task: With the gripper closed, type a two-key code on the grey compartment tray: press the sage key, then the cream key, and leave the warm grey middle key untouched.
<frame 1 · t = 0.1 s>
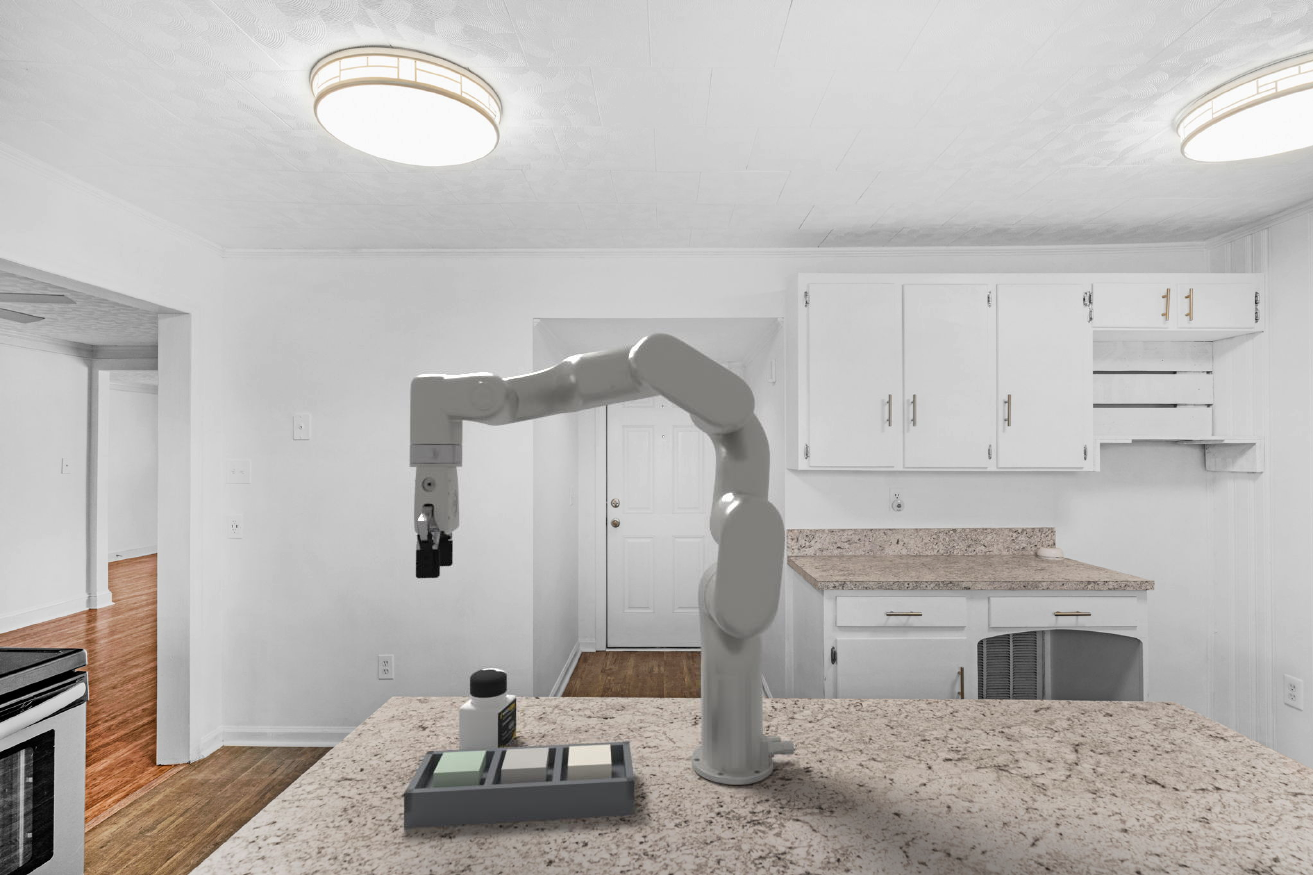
hand: (435, 571, 96), 31 cm above the countertop, tool pointing down, fingers open, 9 cm apart
grey compartment tray: (525, 797, 91), on the countertop
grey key: (525, 765, 91), point 5 cm above the countertop, slide at 0.0 cm
cream key: (589, 761, 92), point 5 cm above the countertop, slide at 0.0 cm
medicine bottle: (488, 745, 108), on the countertop
sage key: (460, 768, 90), point 4 cm above the countertop, slide at 0.0 cm
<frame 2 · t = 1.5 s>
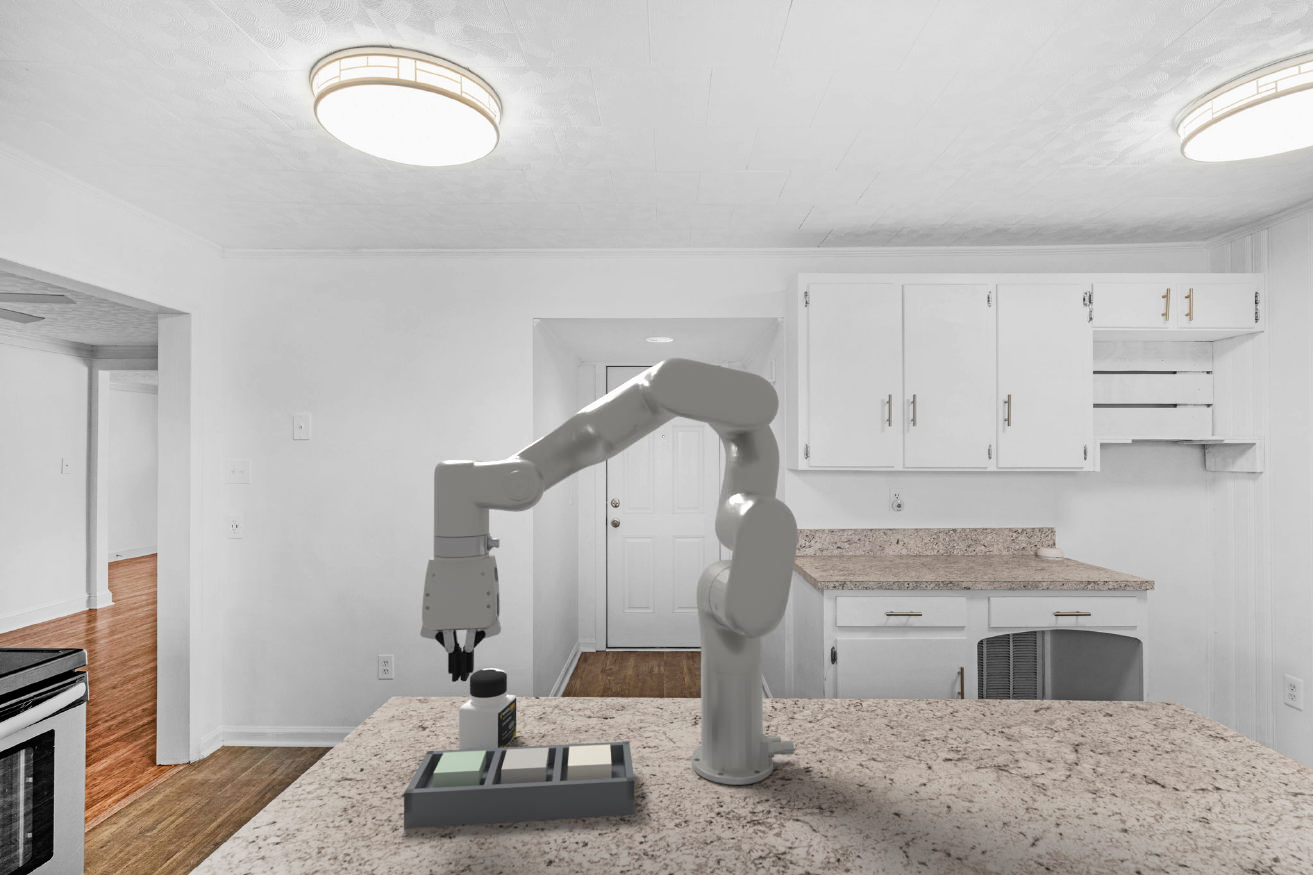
hand: (461, 677, 91), 17 cm above the countertop, tool pointing down, fingers closed
nothing on the countertop moved.
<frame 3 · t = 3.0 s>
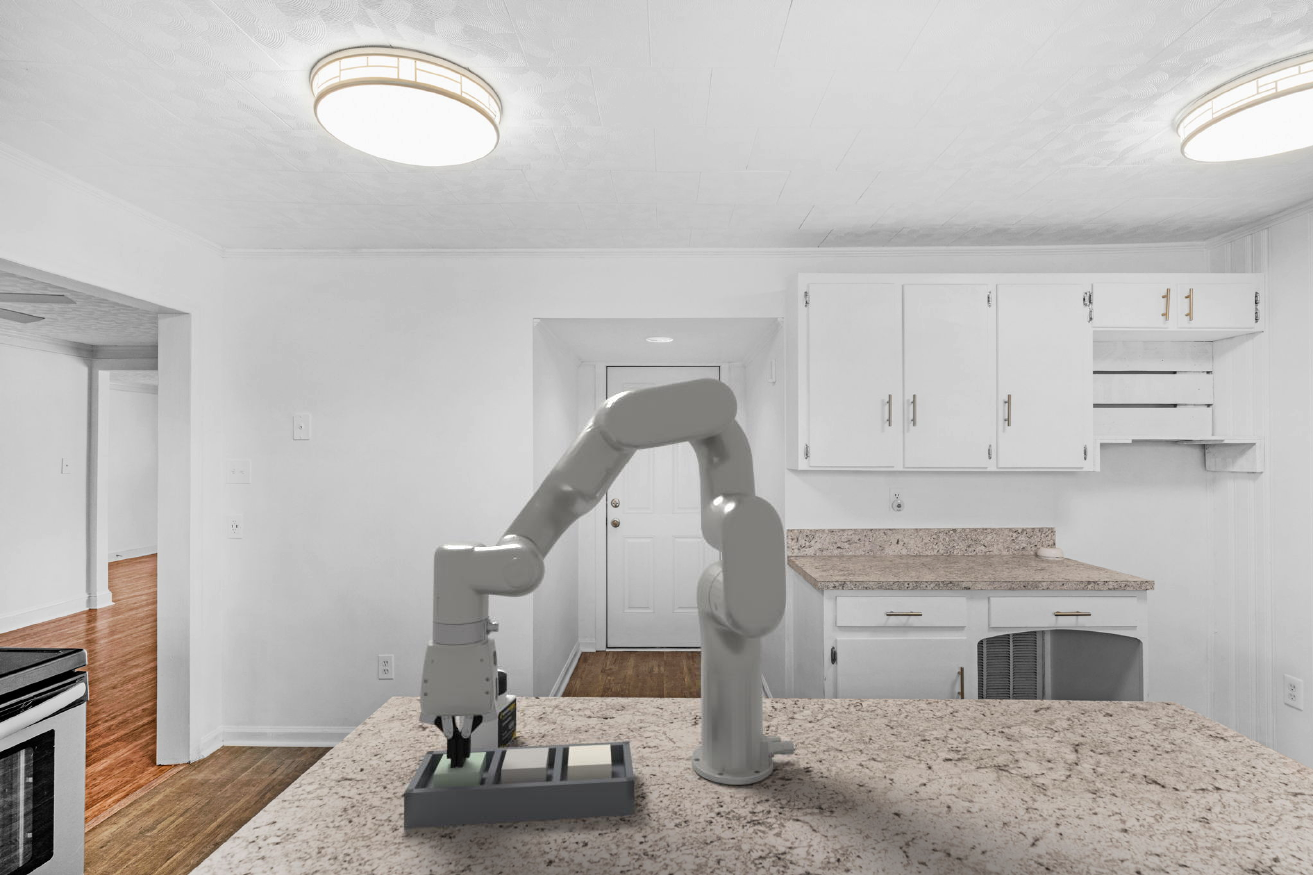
hand: (458, 762, 90), 5 cm above the countertop, tool pointing down, fingers closed
sage key: (460, 770, 90), point 4 cm above the countertop, slide at 0.2 cm, touching gripper
everything else where it was.
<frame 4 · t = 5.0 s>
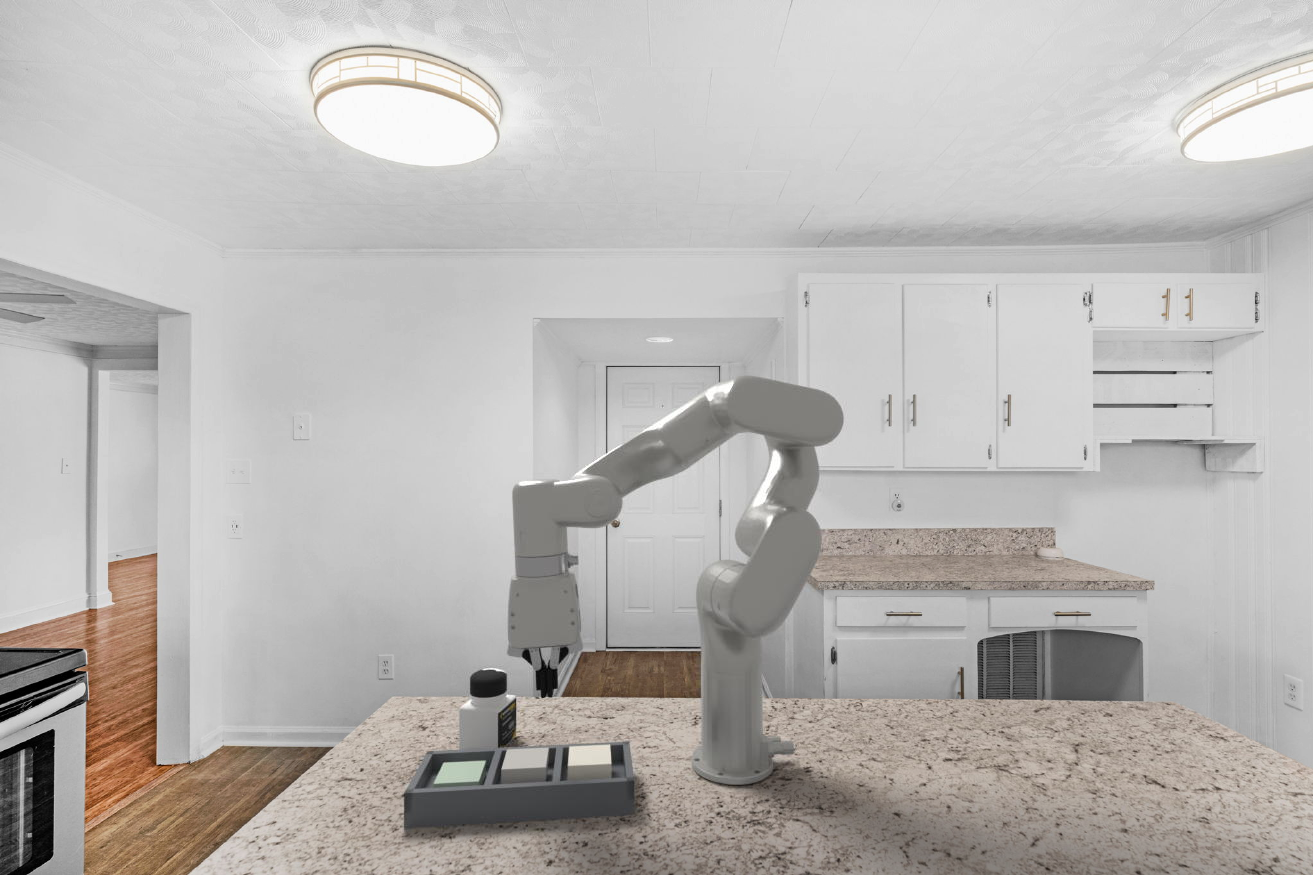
hand: (547, 694, 92), 14 cm above the countertop, tool pointing down, fingers closed
sage key: (460, 778, 90), point 3 cm above the countertop, slide at 1.4 cm
everything else where it was.
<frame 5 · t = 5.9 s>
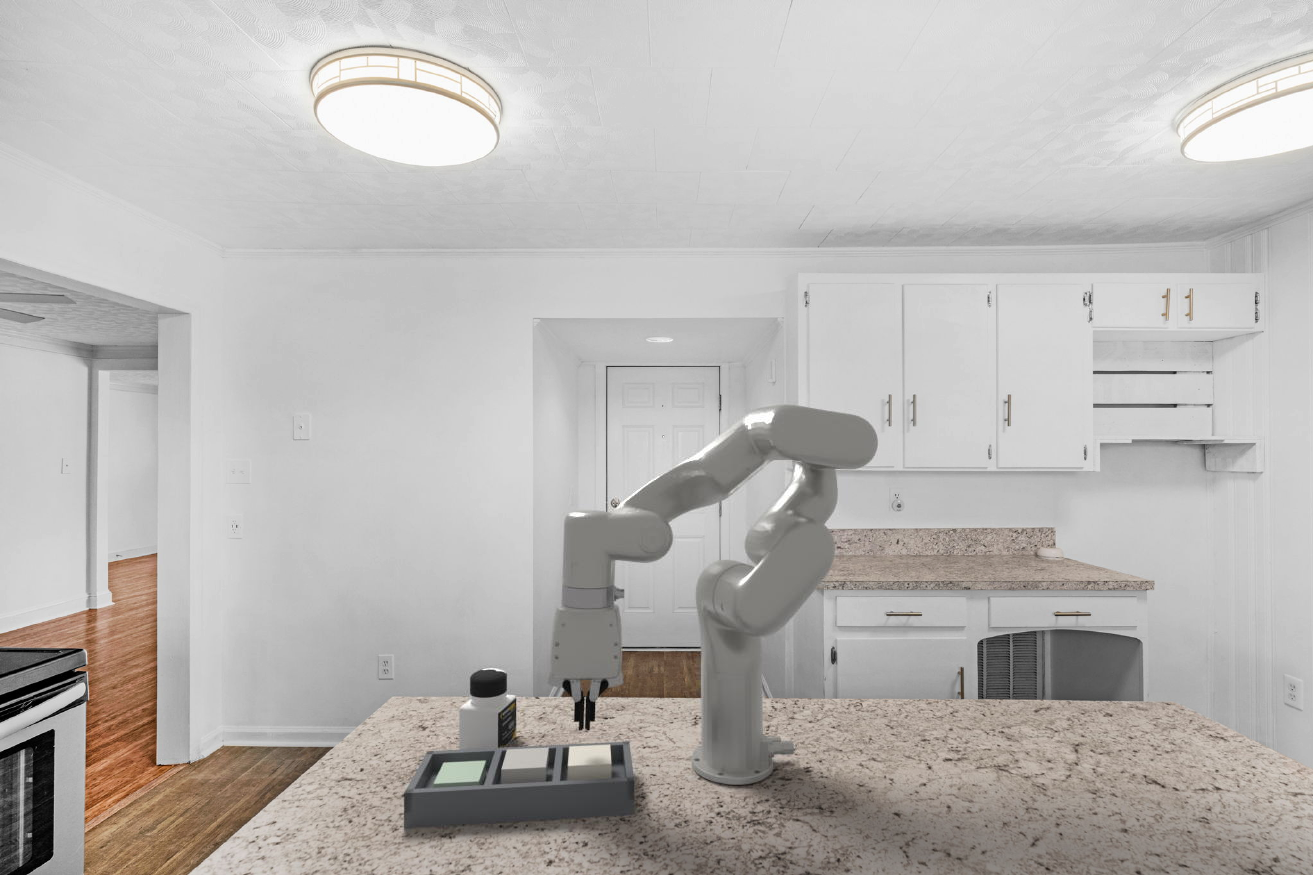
hand: (584, 726, 92), 10 cm above the countertop, tool pointing down, fingers closed
nothing on the countertop moved.
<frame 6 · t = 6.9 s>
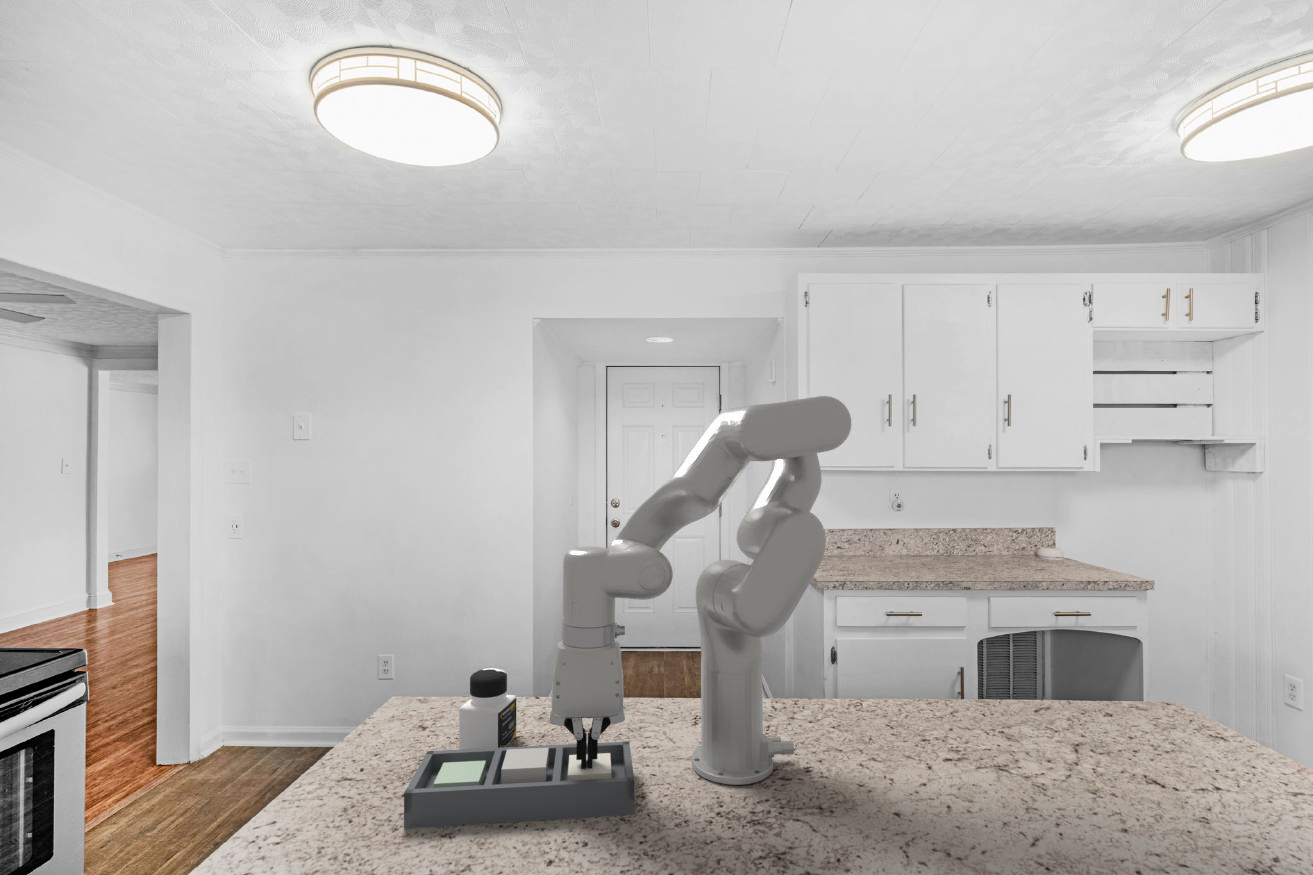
hand: (586, 763, 92), 4 cm above the countertop, tool pointing down, fingers closed
cream key: (589, 770, 92), point 3 cm above the countertop, slide at 1.3 cm, touching gripper
everything else where it was.
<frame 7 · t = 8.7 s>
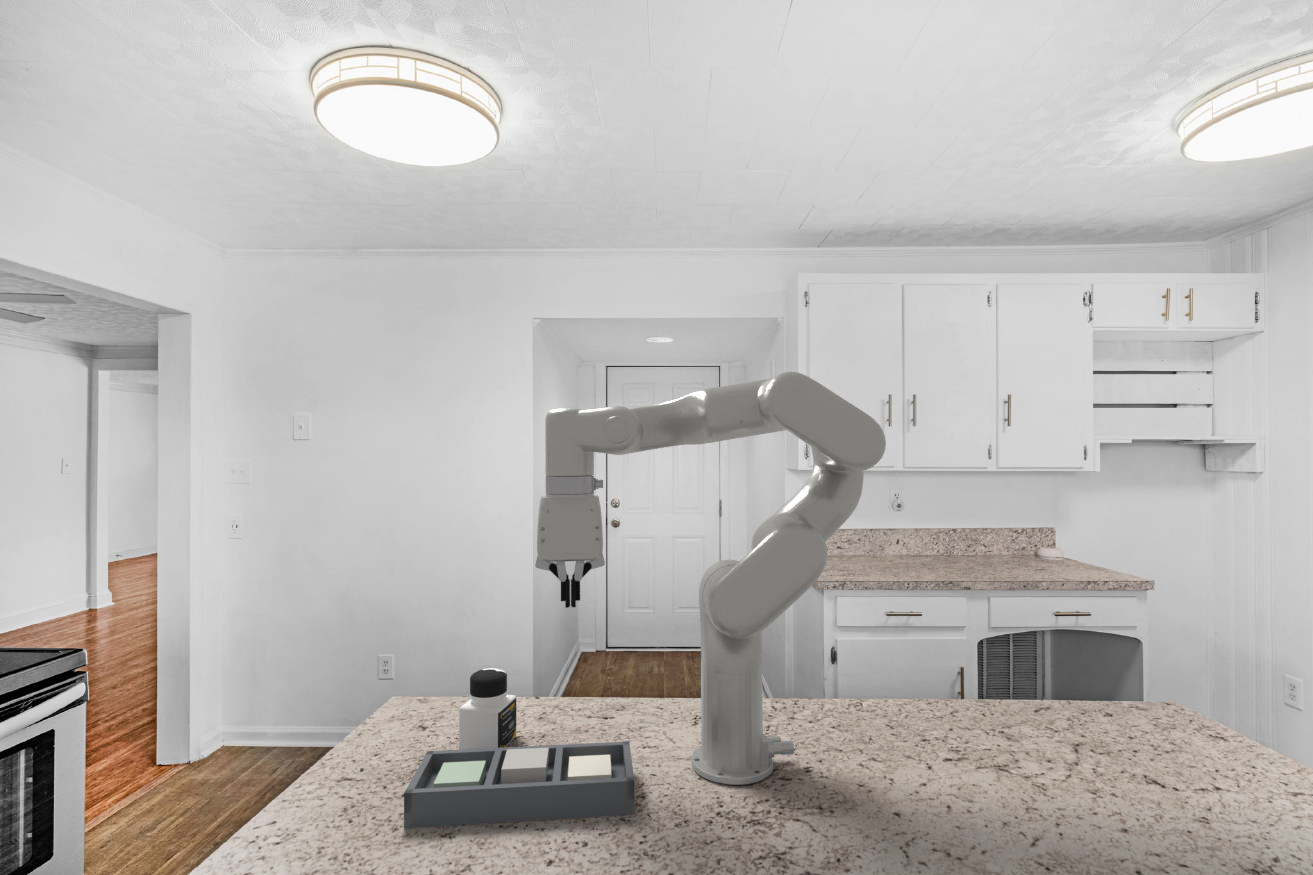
hand: (570, 605, 100), 25 cm above the countertop, tool pointing down, fingers closed
cream key: (589, 772, 92), point 3 cm above the countertop, slide at 1.5 cm
everything else where it was.
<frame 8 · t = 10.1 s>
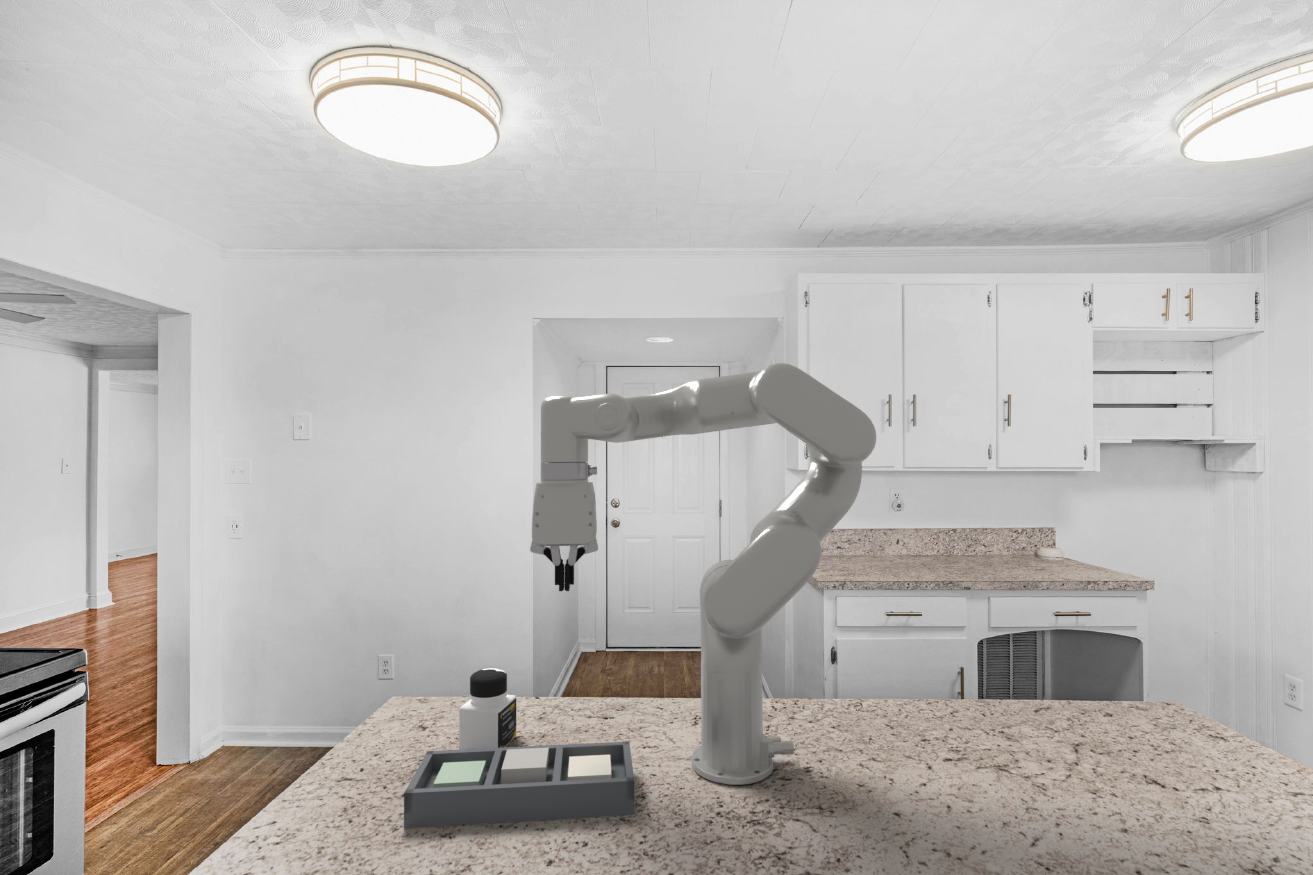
hand: (564, 589, 102), 27 cm above the countertop, tool pointing down, fingers closed
nothing on the countertop moved.
at the end: sage key slide at 1.4 cm; cream key slide at 1.5 cm; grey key slide at 0.0 cm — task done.
